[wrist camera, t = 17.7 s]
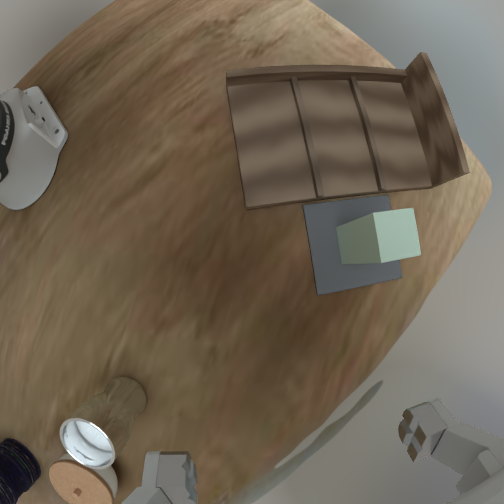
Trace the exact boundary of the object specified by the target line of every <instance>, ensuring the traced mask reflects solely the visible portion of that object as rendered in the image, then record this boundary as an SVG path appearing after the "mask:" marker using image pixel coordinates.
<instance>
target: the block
mask: <svg viewBox="0 0 504 504" xmlns="http://www.w3.org/2000/svg"><path fill="white" fill-rule="evenodd" d="M336 231H337V237H338V243H339V249H340V255H341V261H342V264H366V263H384V262H389V261H394V260H399V259H404V258H409V257H414V256H418V255H421V251H420V244H419V238H418V232H417V226H416V220H415V215H414V210H413V208H407V209H399V210H391V211H383V212H375V213H371V214H369V215H366V216H364V217H361V218H359V219H356V220H353V221H351V222H348V223H346V224H343V225H341V226H338V227H336Z"/></svg>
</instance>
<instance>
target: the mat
mask: <svg viewBox="0 0 504 504" xmlns="http://www.w3.org/2000/svg"><path fill="white" fill-rule="evenodd" d="M303 211H304V217H305V222H306V228H307V234H308V240H309V246H310V252H311V258H312V265H313V271H314V278H315V284H316V291H317V295H322V294H327V293H332V292H337V291H342V290H347V289H352V288H357V287H361V286H366V285H371V284H375V283H380V282H385V281H389V280H394V279H398V278H402V275H401V267H400V260H394V261H389V262H384V263H366V264H342V261H341V255H340V249H339V243H338V237H337V231H336V227H338V226H341V225H343V224H346V223H348V222H351V221H353V220H356V219H359V218H361V217H364V216H366V215H369V214H371V213H375V212H383V211H391V207H390V202H389V197H388V195H385V196H376V197H366V198H358V199H349V200H341V201H332V202H324V203H316V204H308V205H303Z"/></svg>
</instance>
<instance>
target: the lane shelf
mask: <svg viewBox="0 0 504 504" xmlns="http://www.w3.org/2000/svg"><path fill="white" fill-rule="evenodd" d="M226 87H227V94H228V100H229V106H230V113H231V119H232V125H233V131H234V138H235V144H236V150H237V156H238V163H239V169H240V175H241V182H242V188H243V194H244V200H245V207H246V210H249V209H256V208H263V207H270V206H278V205H285V204H292V203H300V202H308V201H316V200H324V199H332V198H341V197H349V196H358V195H367V194H377V193H387V192H397V191H407V190H418V189H429V188H433V187H435V186H438V185H440V184H443V183H445V182H448V181H450V180H453V179H455V178H458V177H460V176H462V175H465V174H467V173H470V172H469V168H468V164H467V161H466V157H465V154H464V150H463V147H462V143H461V140H460V137H459V134H458V131H457V128H456V125H455V122H454V119H453V116H452V113H451V110H450V108H449V105H448V102H447V100H446V97H445V94H444V92H443V89H442V87H441V85H440V82H439V80H438V77H437V75H436V73H435V71H434V68H433V66H432V64H431V62H430V60H429V58H428V55H427V54H426V53H422V52H420V53H419V54H418V55H417V57H416V58H415V59H414V60H413V61H412V62H411V63H410V65H409V66H408V67H407V68H406V69H405V70H402V69H392V68H381V67H368V66H348V65H290V66H270V67H256V68H245V69H235V70H226Z"/></svg>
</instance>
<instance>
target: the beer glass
mask: <svg viewBox="0 0 504 504" xmlns="http://www.w3.org/2000/svg"><path fill="white" fill-rule="evenodd" d="M146 402H147V397H146V393H145V391H144V389H143V387H142V386H141V385H140V384H139V383H138V382H137V381H135V380H134V379H132V378H129V377H125V376H120V377H116V378H114V379H113V380H111V382H110V383H109V384H108V386H107V388H106V390H105V391H104V392H102V393H100V394H97V395H95V396H93V397H91V398H89V399H87V400H86V401H84V402H83V403H82V404H80V405H79V406H78V407H77V408H76V409H75V410H74V411H73V412H72V413H71V414H70V416H69V417H68V418H67V419H66V421H64V422H63V424H62V425H61V428H60V439H61V442H62V444H63V446H64V448H65V450H66V451H67V452H68V454H69V455H70V456H71V457H72V458H73V459H75V460H76V461H77V462H79V463H80V464H82V465H84V466H86V467H89V468H92V469H105V468H108V467H109V466H111V465H112V463H113V462H114V460H115V459H116V458H117V457H118V455H119V454H120V453H121V452H122V450H123V449H124V447H125V446H126V444H127V442H128V440H129V438H130V435H131V432H132V428H133V424H134V420H135V416H136V415H137V414H139V413H140V412H141V411H142V410H143V409H144V408H145V406H146Z"/></svg>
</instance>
